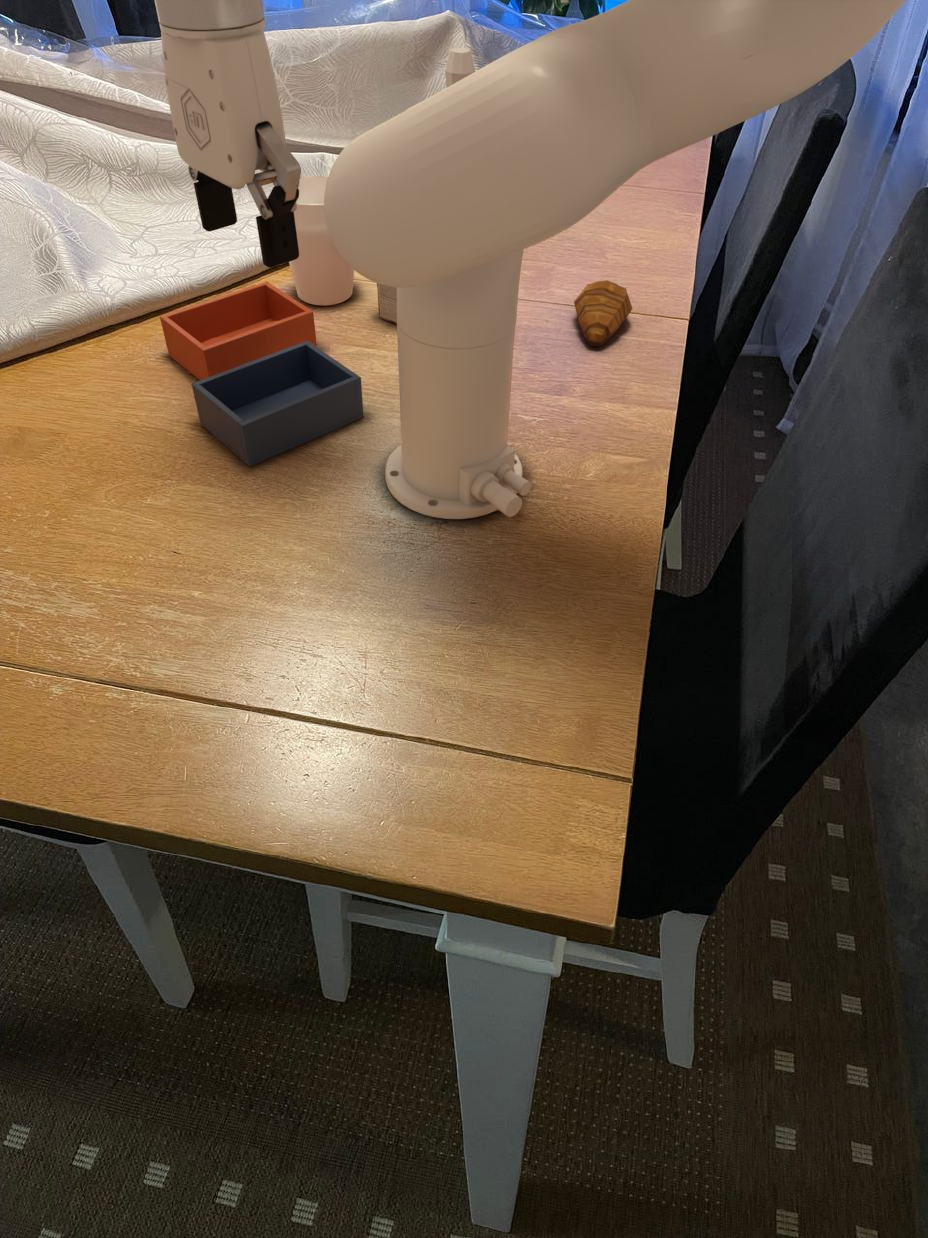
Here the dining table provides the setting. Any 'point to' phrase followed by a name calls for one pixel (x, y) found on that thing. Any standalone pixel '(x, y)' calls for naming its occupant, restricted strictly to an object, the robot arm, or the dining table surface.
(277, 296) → the terracotta bin
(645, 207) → the dining table surface
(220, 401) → the blue bin
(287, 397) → the blue spoon
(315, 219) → the cup
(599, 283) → the croissant
